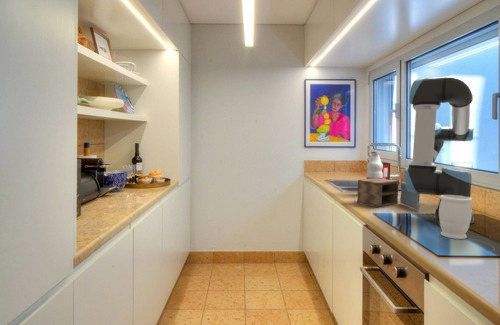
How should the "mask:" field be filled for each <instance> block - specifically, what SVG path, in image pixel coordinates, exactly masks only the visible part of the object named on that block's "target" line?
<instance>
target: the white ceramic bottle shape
mask: <svg viewBox="0 0 500 325" xmlns="http://www.w3.org/2000/svg"><path fill="white" fill-rule="evenodd" d="M370 153H371V157H370V158H369V163H368V162H367V165H366V167H367V171H366V179H372V178H379V179H383V173H382V168H383V164H382V162H383V161H382V160H381V157H380V154H381V152H380V151H371V152H370Z"/></svg>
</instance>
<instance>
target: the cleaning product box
mask: <svg viewBox="0 0 500 325" xmlns="http://www.w3.org/2000/svg"><path fill="white" fill-rule="evenodd" d="M369 161H370V160H369ZM369 161H368V162H367V164H368V163H369ZM381 162H382V164H383V168H382V173H383V179H387V180H391V173H390V172H391V162H387V161H381Z"/></svg>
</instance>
